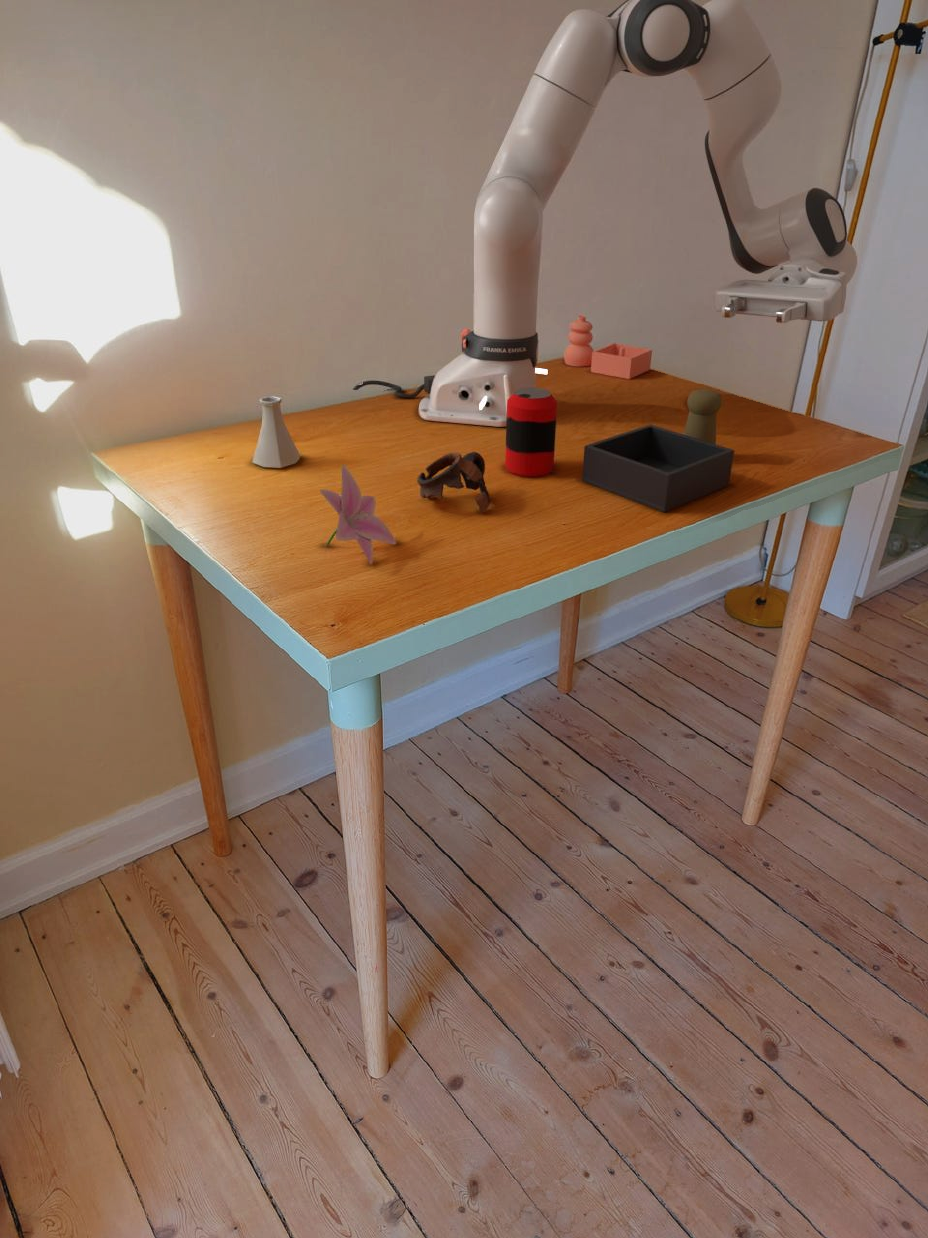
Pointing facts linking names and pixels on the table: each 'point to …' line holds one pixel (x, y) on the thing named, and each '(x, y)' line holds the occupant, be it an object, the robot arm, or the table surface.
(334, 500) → the lily
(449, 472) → the broken clay pot
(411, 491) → the table surface
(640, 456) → the open box
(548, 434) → the soda can
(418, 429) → the table surface
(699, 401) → the cork
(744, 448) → the table surface
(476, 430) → the table surface
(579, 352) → the pottery
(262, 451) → the flask
